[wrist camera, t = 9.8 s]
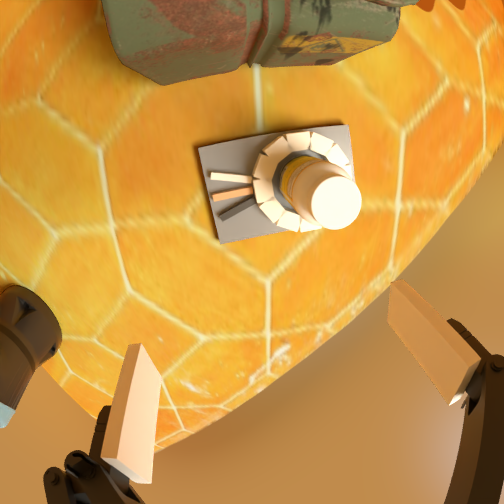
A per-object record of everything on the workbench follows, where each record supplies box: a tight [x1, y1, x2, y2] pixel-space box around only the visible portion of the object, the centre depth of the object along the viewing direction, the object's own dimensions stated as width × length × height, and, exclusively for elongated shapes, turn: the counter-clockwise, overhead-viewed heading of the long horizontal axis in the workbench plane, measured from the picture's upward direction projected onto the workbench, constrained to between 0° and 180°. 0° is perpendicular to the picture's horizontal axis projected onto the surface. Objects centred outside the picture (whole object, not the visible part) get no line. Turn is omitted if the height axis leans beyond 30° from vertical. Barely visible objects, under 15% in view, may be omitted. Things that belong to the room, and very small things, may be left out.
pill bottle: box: [278, 155, 361, 229], centre depth 28 cm, size 6×6×11 cm
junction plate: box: [198, 125, 355, 244], centre depth 32 cm, size 18×12×3 cm, turn 101°
